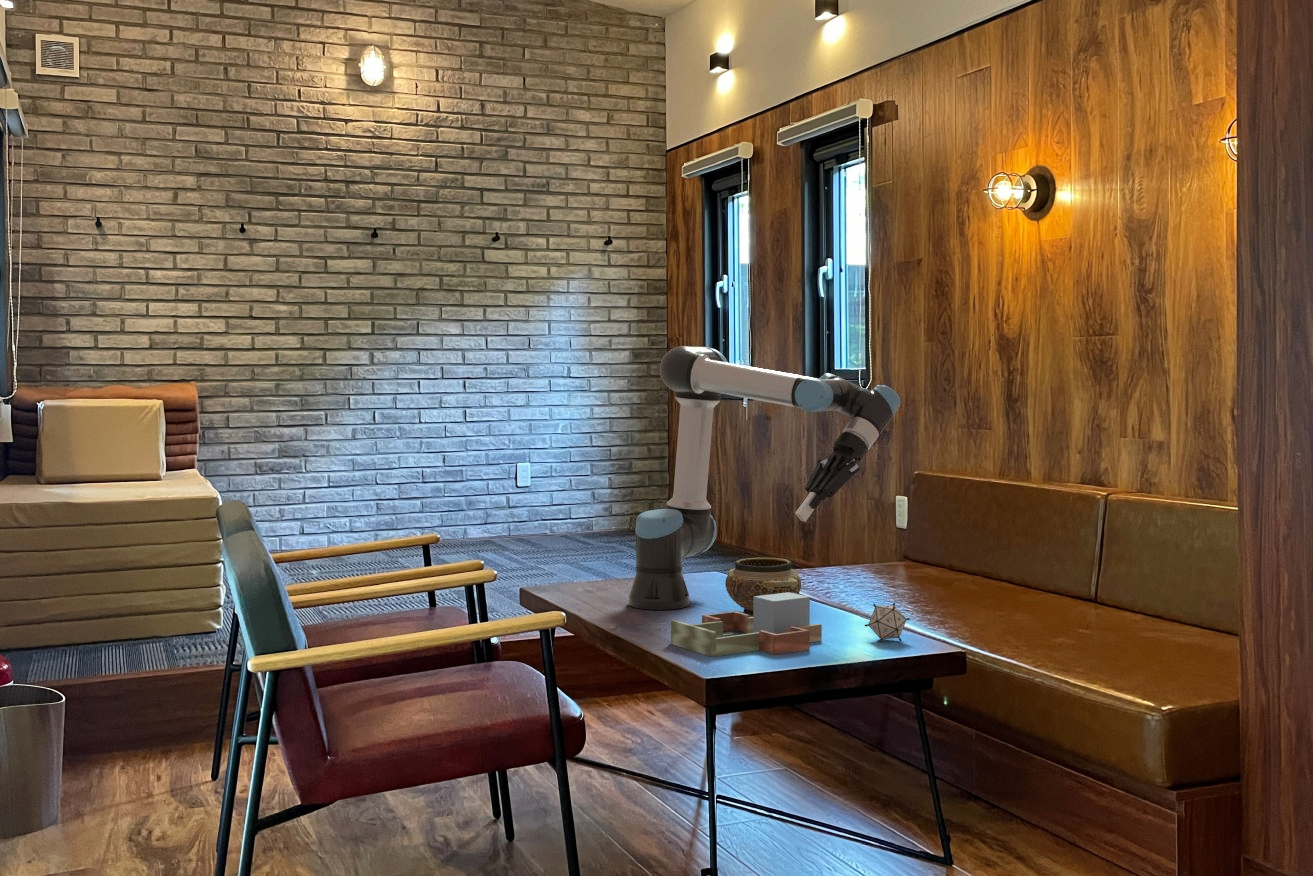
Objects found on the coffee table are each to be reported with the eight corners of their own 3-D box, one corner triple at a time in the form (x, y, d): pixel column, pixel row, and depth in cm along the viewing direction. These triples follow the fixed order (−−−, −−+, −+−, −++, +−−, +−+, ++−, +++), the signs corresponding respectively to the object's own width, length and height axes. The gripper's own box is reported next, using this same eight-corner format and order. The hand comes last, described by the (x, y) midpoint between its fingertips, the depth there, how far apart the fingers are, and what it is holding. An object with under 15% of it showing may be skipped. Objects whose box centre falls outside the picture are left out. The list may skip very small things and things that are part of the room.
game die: (894, 659, 261) (909, 627, 255) (857, 643, 262) (871, 611, 256) (902, 632, 268) (917, 600, 262) (866, 617, 269) (880, 585, 263)
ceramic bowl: (715, 618, 300) (702, 561, 298) (776, 596, 307) (763, 539, 305) (763, 638, 278) (749, 576, 276) (828, 613, 285) (815, 552, 282)
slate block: (753, 637, 265) (753, 596, 265) (788, 632, 271) (789, 592, 271) (773, 643, 260) (773, 601, 259) (809, 637, 265) (809, 596, 265)
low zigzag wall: (656, 639, 263) (656, 616, 263) (762, 624, 279) (762, 603, 279) (728, 662, 241) (728, 637, 241) (838, 645, 257) (838, 621, 257)
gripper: (883, 453, 279) (828, 531, 271) (845, 451, 290) (790, 526, 282) (865, 430, 276) (809, 508, 268) (827, 429, 287) (772, 504, 278)
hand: (800, 517), depth 275 cm, fingers closed
